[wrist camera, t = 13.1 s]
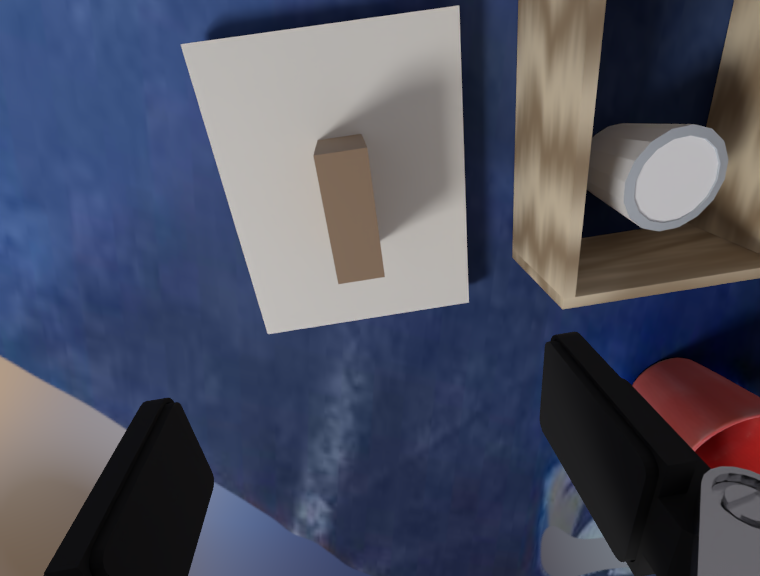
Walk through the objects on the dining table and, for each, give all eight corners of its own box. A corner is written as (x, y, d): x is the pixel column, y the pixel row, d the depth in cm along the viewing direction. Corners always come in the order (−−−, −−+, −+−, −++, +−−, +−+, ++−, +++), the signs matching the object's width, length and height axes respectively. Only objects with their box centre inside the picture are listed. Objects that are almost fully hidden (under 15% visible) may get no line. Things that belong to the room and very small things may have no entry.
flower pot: (698, 416, 48) (778, 492, 39) (605, 428, 47) (665, 507, 38) (727, 339, 43) (826, 406, 34) (624, 351, 42) (698, 422, 34)
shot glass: (554, 185, 34) (603, 211, 27) (604, 99, 31) (672, 105, 25) (620, 215, 35) (680, 245, 29) (673, 136, 33) (752, 150, 26)
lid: (191, 46, 27) (138, 36, 20) (450, 10, 27) (491, -13, 20) (271, 320, 37) (255, 381, 29) (461, 290, 37) (492, 342, 30)
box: (519, -27, 27) (596, -69, 19) (758, -60, 27) (933, -115, 19) (512, 257, 36) (562, 309, 28) (691, 229, 37) (791, 272, 29)
